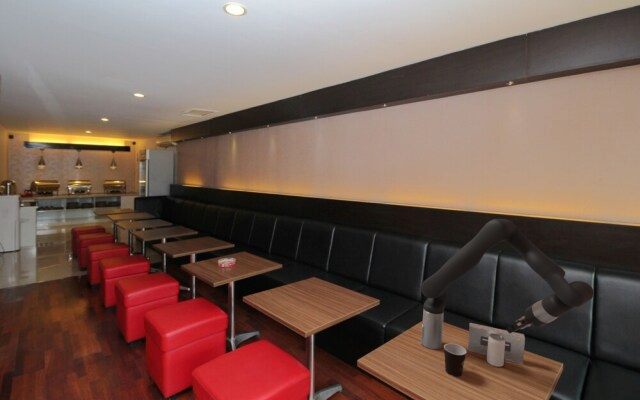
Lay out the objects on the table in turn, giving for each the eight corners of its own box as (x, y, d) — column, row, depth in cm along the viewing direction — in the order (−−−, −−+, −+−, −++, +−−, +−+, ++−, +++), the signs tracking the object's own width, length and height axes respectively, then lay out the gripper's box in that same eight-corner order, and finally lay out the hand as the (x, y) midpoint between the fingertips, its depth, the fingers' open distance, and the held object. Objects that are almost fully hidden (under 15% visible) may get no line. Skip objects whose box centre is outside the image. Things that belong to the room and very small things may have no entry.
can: (505, 368, 133) (507, 341, 132) (489, 366, 134) (491, 339, 133) (500, 359, 139) (502, 334, 138) (484, 357, 141) (486, 332, 140)
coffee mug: (455, 380, 124) (456, 356, 123) (438, 368, 131) (439, 346, 131) (474, 373, 129) (475, 350, 128) (456, 361, 137) (458, 340, 136)
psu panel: (467, 351, 146) (469, 326, 145) (468, 346, 150) (469, 322, 149) (523, 365, 136) (525, 338, 135) (521, 359, 140) (523, 334, 139)
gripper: (547, 298, 122) (520, 314, 134) (522, 308, 117) (496, 324, 129) (562, 316, 117) (533, 331, 129) (537, 327, 112) (509, 342, 124)
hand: (515, 327), depth 129 cm, fingers open, 8 cm apart
